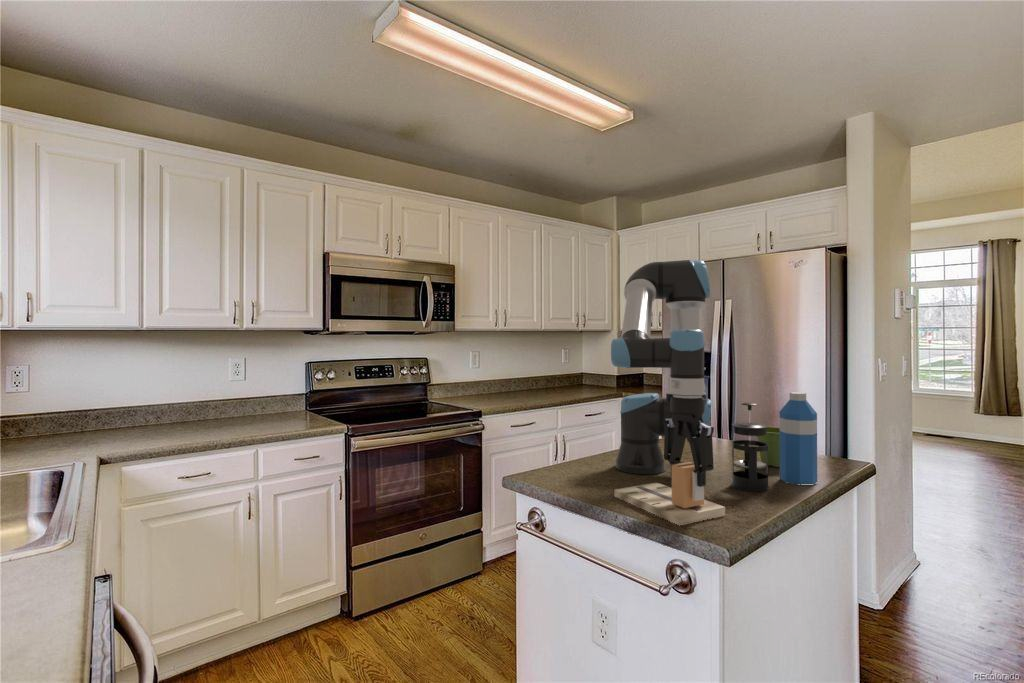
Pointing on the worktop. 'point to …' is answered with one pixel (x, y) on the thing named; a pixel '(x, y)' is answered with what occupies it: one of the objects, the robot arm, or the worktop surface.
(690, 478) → the block
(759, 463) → the french press
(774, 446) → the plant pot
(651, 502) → the fader board
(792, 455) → the water bottle
